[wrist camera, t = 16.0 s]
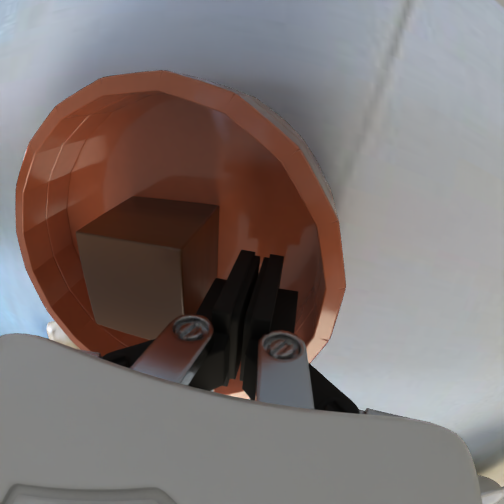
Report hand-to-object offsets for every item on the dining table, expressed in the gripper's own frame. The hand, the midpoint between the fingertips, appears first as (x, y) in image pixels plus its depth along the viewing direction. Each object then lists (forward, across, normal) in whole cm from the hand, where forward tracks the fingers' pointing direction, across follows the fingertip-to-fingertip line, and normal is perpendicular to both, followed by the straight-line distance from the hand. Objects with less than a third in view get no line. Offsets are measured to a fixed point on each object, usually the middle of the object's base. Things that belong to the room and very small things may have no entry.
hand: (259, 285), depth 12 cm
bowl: (+3, +5, 0) cm, 6 cm away
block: (+2, +5, 0) cm, 5 cm away
